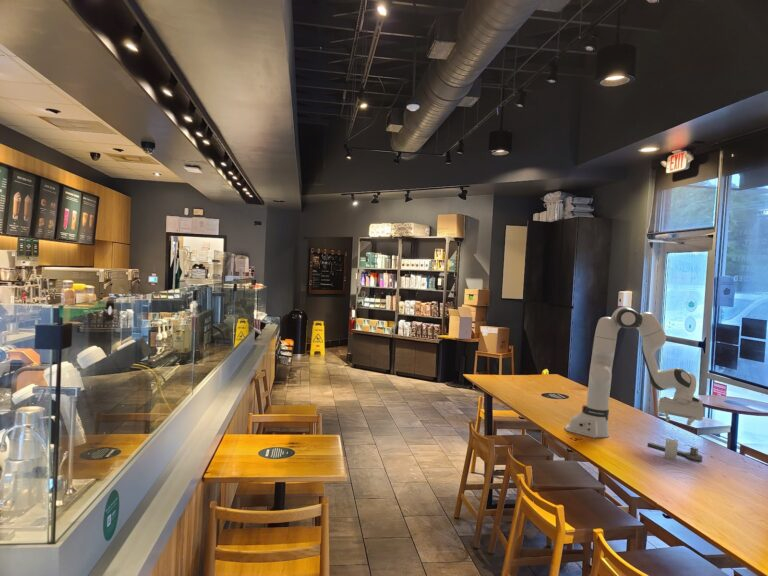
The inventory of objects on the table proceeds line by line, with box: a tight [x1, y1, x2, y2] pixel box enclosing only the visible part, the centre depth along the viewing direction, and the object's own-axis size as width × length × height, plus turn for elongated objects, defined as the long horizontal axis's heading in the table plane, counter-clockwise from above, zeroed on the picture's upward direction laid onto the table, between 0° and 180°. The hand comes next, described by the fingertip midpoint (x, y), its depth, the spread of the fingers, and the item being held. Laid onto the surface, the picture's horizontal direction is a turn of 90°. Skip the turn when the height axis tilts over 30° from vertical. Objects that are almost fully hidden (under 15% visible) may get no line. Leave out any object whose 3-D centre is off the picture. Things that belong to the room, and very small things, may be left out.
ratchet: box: [647, 442, 703, 462], centre depth 262 cm, size 25×7×5 cm, turn 42°
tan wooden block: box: [664, 438, 679, 461], centre depth 254 cm, size 5×5×8 cm
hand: (677, 422), depth 264 cm, fingers open, 8 cm apart
